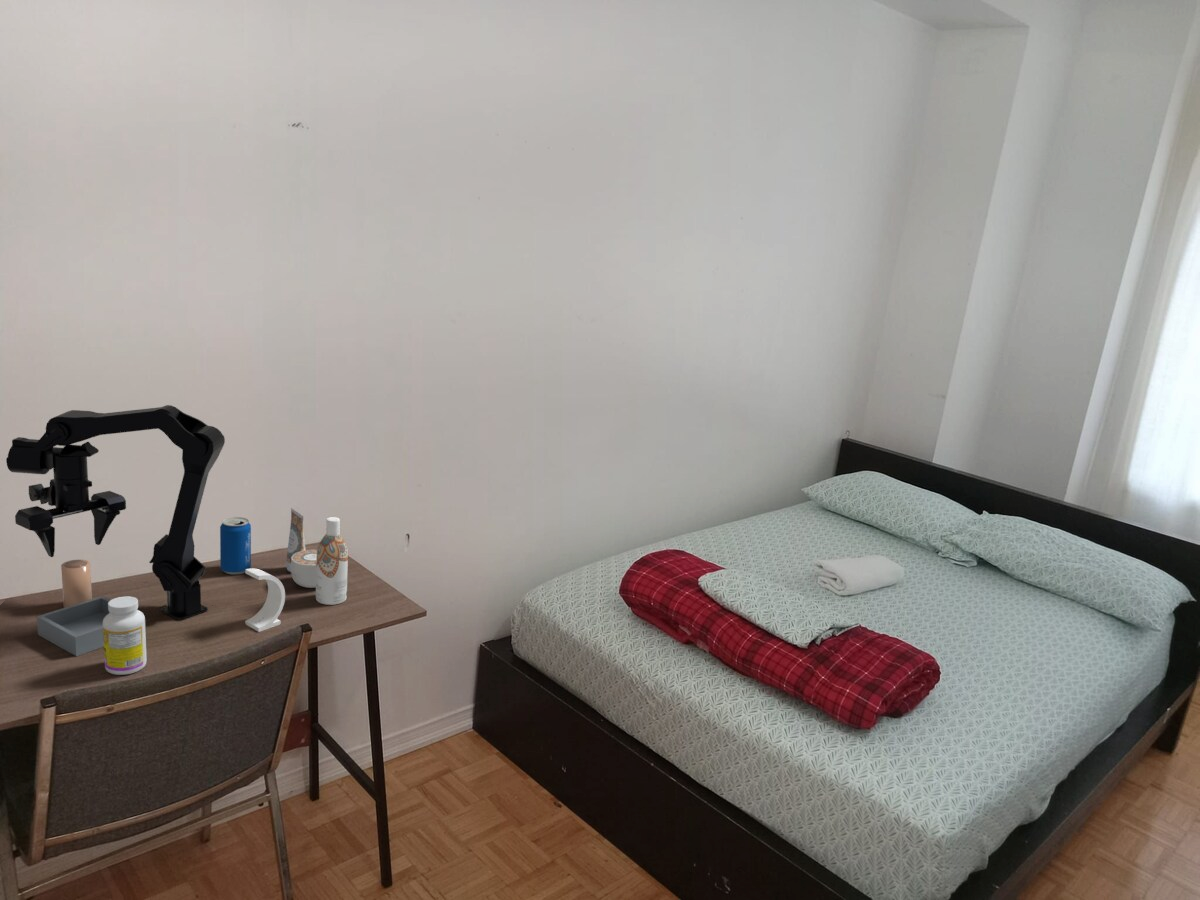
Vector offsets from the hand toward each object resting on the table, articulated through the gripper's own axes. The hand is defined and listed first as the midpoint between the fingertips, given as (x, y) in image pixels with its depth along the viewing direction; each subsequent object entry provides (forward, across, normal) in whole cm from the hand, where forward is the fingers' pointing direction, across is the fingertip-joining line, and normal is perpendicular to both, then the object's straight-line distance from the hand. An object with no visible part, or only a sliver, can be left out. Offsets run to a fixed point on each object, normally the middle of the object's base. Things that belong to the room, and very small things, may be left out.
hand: (74, 550), depth 175 cm
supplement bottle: (+12, +8, +29) cm, 32 cm away
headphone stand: (+12, -19, +33) cm, 40 cm away
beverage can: (+12, -32, +7) cm, 35 cm away
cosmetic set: (+12, -39, +25) cm, 48 cm away
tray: (+12, +5, +13) cm, 18 cm away
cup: (+12, 0, 0) cm, 12 cm away
